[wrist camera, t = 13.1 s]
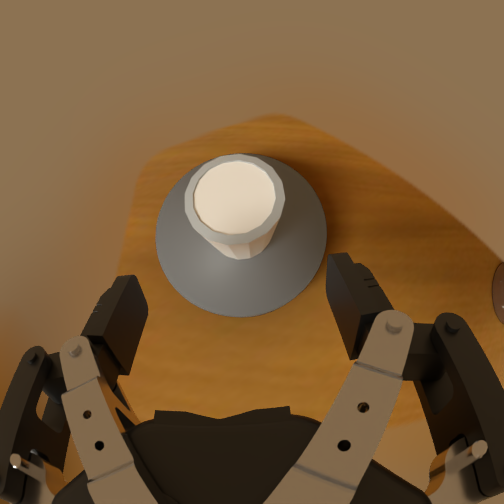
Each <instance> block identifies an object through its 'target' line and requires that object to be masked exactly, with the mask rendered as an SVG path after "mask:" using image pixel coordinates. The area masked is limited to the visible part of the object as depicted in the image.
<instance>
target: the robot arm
mask: <svg viewBox="0 0 504 504" xmlns="http://www.w3.org/2000/svg"><path fill="white" fill-rule="evenodd" d="M326 294H327V299H328V301H329V304H330V307H331V309H332V312H333V315H334V317H335V320H336V323H337V325H338V328H339V331H340V334H341V336H342V339H343V342H344V345H345V348H346V350H347V353H348V356H349V359H350V360H354V359H358V360H357V362H355V363H354V364H353V366H352V368H351V370H350V372H349V374H348V376H347V378H346V380H345V382H344V384H343V386H342V388H341V390H340V392H339V393H338V395H337V397H336V399H335V401H334V403H333V404H332V406H331V408H330V410H329V412H328V413H327V415H326V417H325V418H324V420H323V422H322V423H321V422H319V421H317V420H315V419H312V418H309V417H305V416H300V415H293V414H291V413H290V406H285V407H277V408H267V409H256V410H252V411H249V412H245V413H242V414H238V415H235V416H231V417H227V418H223V419H215V418H210V417H206V416H201V415H197V414H193V413H189V412H181V411H160V410H155V415H154V419H151V420H148V421H144V422H142V423H141V422H140V421H139V419H138V418H137V417H136V415H135V413H134V411H133V409H132V407H131V406H130V404H129V402H128V400H127V398H126V396H125V394H124V392H123V390H122V387H121V385H120V383H119V382H118V381H117V379H118V375H129V374H130V371H131V367H132V364H133V360H134V357H135V354H136V351H137V347H138V344H139V341H140V338H141V335H142V332H143V329H144V326H145V322H146V320H147V316H148V305H147V302H146V299H145V297H144V294H143V292H142V289H141V287H140V284H139V282H138V279H137V277H136V276H135V275H125V276H118V277H117V278H116V280H115V281H114V283H113V285H112V287H111V288H109V289H108V290H107V291H106V292H105V293H104V294H103V295H102V296H101V297H100V299H99V301H98V303H97V306H95V308H94V310H93V313H92V314H91V316H90V318H89V319H88V321H87V324H86V325H85V327H84V330H83V331H82V333H81V335H80V336H76V337H73V338H71V339H69V340H68V341H66V342H65V343H64V345H63V346H62V348H61V350H60V352H57V353H53V354H49V355H48V354H47V353H46V351H45V350H44V349H43V348H42V347H41V346H35V347H32V348H30V349H29V350H28V351H27V352H26V353H25V354H24V355H23V357H22V359H21V362H20V363H19V366H18V368H17V370H16V372H15V374H14V377H13V379H12V381H11V384H10V386H9V388H8V391H7V393H6V396H5V399H4V402H3V404H2V407H1V410H0V498H1V499H3V500H6V501H7V502H9V503H10V504H477V503H478V502H481V501H483V500H486V499H489V498H491V497H493V496H496V495H498V494H500V493H503V492H504V390H503V388H502V386H501V383H500V381H499V379H498V377H497V375H496V373H495V371H494V370H493V368H492V366H491V364H490V362H489V360H488V358H487V357H486V355H485V353H484V351H483V349H482V348H481V346H480V344H479V343H478V341H477V339H476V338H475V336H474V334H473V333H472V331H471V329H470V328H469V326H468V325H467V323H466V322H465V320H464V319H463V318H461V317H460V316H458V315H456V314H454V313H442V314H440V315H439V316H438V317H437V318H436V320H435V322H434V324H421V323H413V322H412V320H411V319H410V317H409V316H408V315H406V314H405V313H403V312H400V311H397V310H394V308H393V307H392V305H391V303H390V302H389V300H388V298H387V297H386V295H385V293H384V292H383V290H382V289H381V287H380V286H379V284H378V282H377V281H376V279H375V278H374V276H373V274H372V273H371V271H370V270H369V269H368V268H366V267H365V266H364V265H362V264H361V263H356V264H354V263H353V261H352V259H351V258H350V256H349V255H348V253H346V252H345V253H337V254H329V255H328V260H327V276H326ZM492 294H493V304H494V308H495V311H496V314H497V316H498V318H499V320H500V321H501V322H502V323H504V263H502V264H501V265H500V266H499V267H498V268H497V270H496V273H495V275H494V280H493V288H492ZM403 380H405V381H413V382H414V385H415V388H416V391H417V393H418V396H419V399H420V402H421V405H422V408H423V411H424V414H425V417H426V420H427V423H428V426H429V429H430V433H431V436H432V439H433V443H434V446H435V450H436V454H437V456H436V457H435V459H434V460H433V462H432V463H431V466H430V470H429V485H428V487H427V490H426V491H425V492H423V491H422V490H420V489H418V488H417V487H415V486H414V485H412V484H410V483H409V482H407V481H405V480H404V479H402V478H401V477H399V476H397V475H396V474H394V473H393V472H391V471H390V470H388V469H387V468H385V467H384V466H382V465H381V464H379V463H378V462H376V461H375V460H373V459H372V457H373V455H374V453H375V451H376V449H377V447H378V444H379V442H380V440H381V438H382V435H383V433H384V431H385V428H386V426H387V423H388V421H389V418H390V416H391V413H392V410H393V408H394V405H395V402H396V399H397V397H398V394H399V391H400V388H401V384H402V381H403ZM42 391H44V392H45V394H47V396H48V397H49V398H48V402H47V404H46V407H45V411H44V414H43V418H42V421H41V420H40V419H39V418H38V416H37V414H36V406H37V403H38V400H39V397H40V394H41V392H42ZM70 433H71V434H72V437H73V440H74V443H75V446H76V448H77V451H78V454H79V456H80V459H81V462H82V464H83V466H84V470H83V471H82V472H81V473H80V474H79V475H78V476H76V477H75V478H74V479H73V480H72V481H71V482H69V483H68V482H67V481H65V480H64V476H63V469H64V462H65V458H66V452H67V447H68V442H69V438H70Z"/></svg>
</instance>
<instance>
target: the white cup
mask: <svg viewBox="0 0 504 504" xmlns="http://www.w3.org/2000/svg"><path fill="white" fill-rule="evenodd" d="M284 202H285V195H284V189H283V183H282V181H281V179H280V178H279V176H278V175H277V173H276V172H275V171H274V169H273V168H272V167H271V166H269V165H268V164H266V163H265V162H263V161H262V160H260V159H259V158H257V157H252V156H247V155H242V154H234V155H226V156H220V157H218V158H216V159H214V160H212V161H210V162H208V163H206V164H204V165H203V166H202V167H201V168H200V169H199V170H198V171H197V172H196V173H195V174H194V175H193V176H192V177H191V180H190V182H189V185H188V187H187V189H186V192H185V213H186V215H187V217H188V219H189V221H190V223H191V225H192V227H193V228H194V229H195V230H196V231H197V232H198V233H199V234H201V235H202V236H203V237H204V238H205V239H206V240H207V241H209V242H210V243H211V244H212V245H213V246H214V247H215V248H216V249H218V250H219V251H220V252H221V253H223V254H224V255H225V256H227V257H231V258H234V259H238V260H239V259H248V258H252V257H254V256H256V255H257V254H259V253H261V252H262V251H263V250H264V249H265V247H266V246H267V245H268V244H269V242H270V240H271V238H272V235H273V233H274V231H275V228H276V226H277V224H278V221H279V219H280V216H281V213H282V209H283V206H284Z"/></svg>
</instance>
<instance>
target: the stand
mask: <svg viewBox="0 0 504 504" xmlns="http://www.w3.org/2000/svg"><path fill="white" fill-rule="evenodd" d="M239 154H242V155H247V156H252V157H257V158H259V159H260V160H262V161H263V162H265V163H266V164H268V165H269V166H271V167H272V168H273V169H274V171H275V172H276V173H277V175H278V176H279V178H280V179H281V181H282V183H283V189H284V195H285V202H284V206H283V209H282V213H281V216H280V219H279V221H278V224H277V226H276V228H275V231H274V233H273V235H272V238H271V240H270V242H269V244H268V245H267V246H266V247H265V249H264V250H263V251H262V252H261V253H259V254H257V255H256V256H254V257H252V258H248V259H239V260H238V259H234V258H231V257H227V256H225V255H224V254H223V253H221V252H220V251H219V250H218V249H216V248H215V247H214V246H213V245H212V244H211V243H210V242H209V241H207V240H206V239H205V238H204V237H203V236H202V235H201V234H199V233H198V232H197V231H196V230H195V229H194V228H193V227H192V225H191V223H190V221H189V219H188V217H187V215H186V213H185V192H186V189H187V187H188V185H189V182H190V180H191V177H192V176H193V175H194V174H195V173H196V172H197V171H198V170H199V169H200V168H201V167H202V166H203V165H204V164H206V163H208V162H210V161H212V160H214V159H216V158H214V159H211V160H208V161H206V162H204V163H202V164H200V165H198V166H197V167H195V168H194V169H192V170H191V171H189V172H188V173H187V174H186V175H184V176H183V177H182V178H181V179H180V180H179V181H178V182H177V183H176V185H175V186H174V187H173V188H172V190H171V191H170V192H169V194H168V196H167V197H166V199H165V201H164V203H163V205H162V208H161V210H160V213H159V217H158V221H157V226H156V248H157V254H158V258H159V261H160V264H161V266H162V269H163V271H164V273H165V275H166V277H167V278H168V280H169V281H170V283H171V284H172V285H173V287H174V288H175V289H176V290H177V291H178V292H179V293H180V294H181V295H182V296H183V297H184V298H186V299H187V300H188V301H190V302H191V303H192V304H194V305H196V306H198V307H200V308H202V309H204V310H206V311H209V312H212V313H215V314H219V315H224V316H231V317H253V316H258V315H263V314H266V313H269V312H272V311H274V310H276V309H278V308H280V307H282V306H283V305H285V304H286V303H288V302H289V301H291V300H292V299H293V298H295V297H296V296H297V295H298V294H299V293H300V292H301V291H303V290H304V289H305V287H306V286H307V285H308V284H309V283H310V281H311V280H312V279H313V277H314V275H315V274H316V272H317V270H318V268H319V266H320V264H321V261H322V259H323V255H324V252H325V248H326V240H327V225H326V219H325V214H324V211H323V208H322V205H321V202H320V200H319V198H318V196H317V194H316V193H315V191H314V190H313V188H312V187H311V185H310V184H309V183H308V182H307V181H306V179H305V178H303V177H302V176H301V175H300V174H299V173H298V172H297V171H295V170H294V169H292V168H291V167H290V166H288V165H286V164H284V163H282V162H281V161H278V160H276V159H273V158H270V157H266V156H263V155H257V154H246V153H239ZM229 155H234V154H229ZM224 156H226V155H224ZM217 158H218V157H217Z"/></svg>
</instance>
